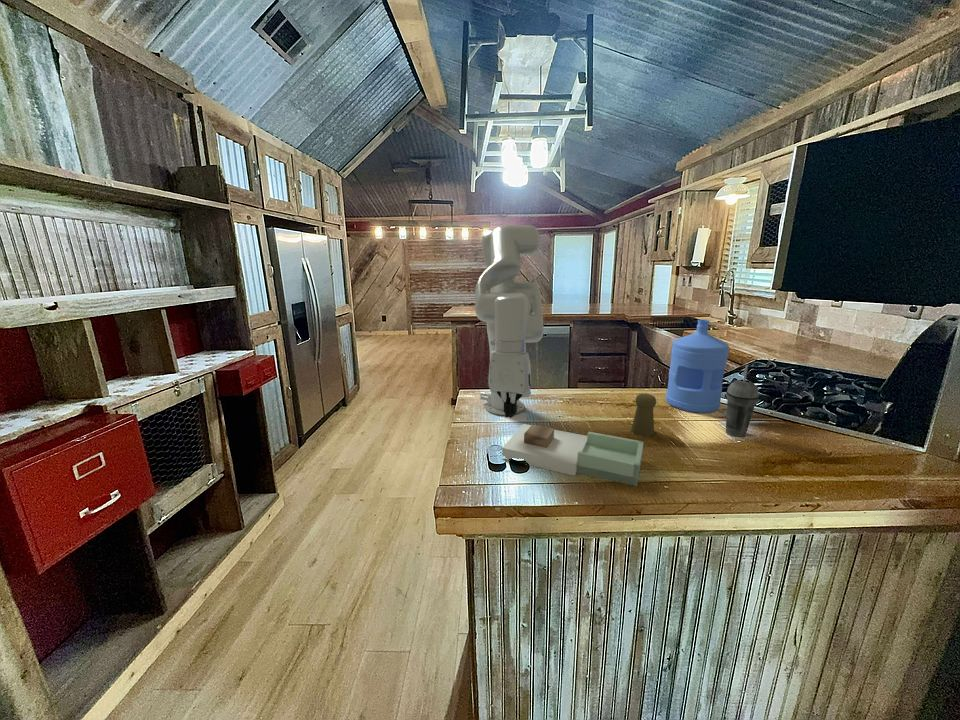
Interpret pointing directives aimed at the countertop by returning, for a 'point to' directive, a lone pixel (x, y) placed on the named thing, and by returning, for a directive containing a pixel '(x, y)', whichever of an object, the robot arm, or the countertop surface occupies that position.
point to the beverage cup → (740, 406)
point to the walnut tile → (539, 436)
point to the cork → (644, 415)
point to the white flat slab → (547, 451)
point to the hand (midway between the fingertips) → (510, 415)
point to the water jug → (697, 371)
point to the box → (611, 458)
